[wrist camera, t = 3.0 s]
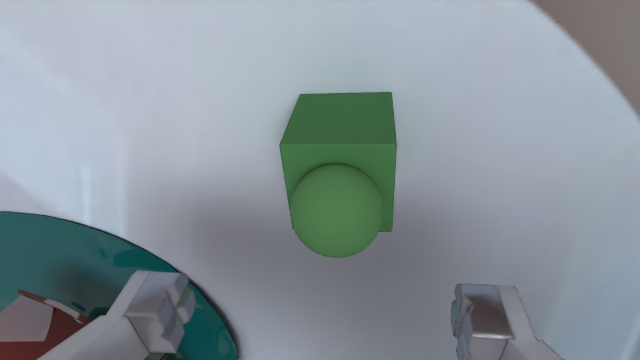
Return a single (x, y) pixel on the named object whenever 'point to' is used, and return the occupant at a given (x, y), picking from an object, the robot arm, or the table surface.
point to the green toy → (340, 170)
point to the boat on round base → (80, 288)
